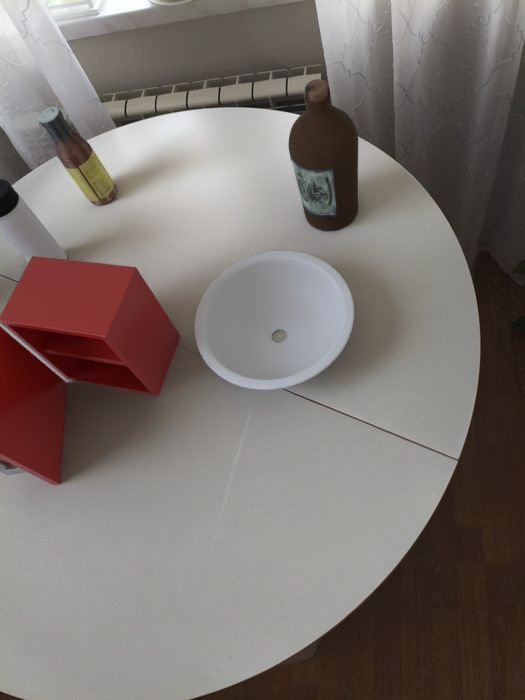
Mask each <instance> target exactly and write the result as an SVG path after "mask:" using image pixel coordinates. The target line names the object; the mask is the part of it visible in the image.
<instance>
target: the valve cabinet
mask: <svg viewBox="0 0 525 700" xmlns="http://www.w3.org/2000/svg"><path fill="white" fill-rule="evenodd" d="M0 324H1V325H2V326H3V327H5V328H6V329H7V331H9V332H11V334H13V335H14V336H15V337H17V339H18V340H20V341H21V342H22V343H23V344H25V345H26V346H27V347H28V348H29V349H30V350H32V352H34V353H35V354H36V355H37V356H39V357H40V358H41V359H42V360H43V361H44V362H46V364H48V365H49V366H50V367H51V368H52V369H54V370H55V371H56V372H57V373H58V374H60V375H61V376H62V377H63V378H64V379H65V380H67V381H72V382H79V383H84V384H88V385H93V386H100V387H105V388H110V389H117V390H121V391H126V392H127V391H128V392H133V393H138V394H145V395H149V396H155V397H159V396H160V394H161V391H162V388H163V386H164V383H165V380H166V378H167V374H168V372H169V369H170V366H171V365H172V361H173V358H174V356H175V353H176V350H177V348H178V345H179V342H180V339H181V337H182V335H181V333H180V332H179V331H178V329H177V328H176V326H175V324H173V321H172V320H171V319H170V317H169V315H168V313H167V312H166V311H165V309H164V307H163V306H162V305H161V303H160V302H159V300H158V299H157V297H156V295H155V294H154V292H153V291H152V289H151V288H150V286H149V285H148V283H147V281H146V280H145V278H144V276H143V275H142V273H141V272H140V271H139V269H138V268H137V266H130V265H122V264H113V263H102V262H92V261H85V260H76V259H69V260H67V259H57V258H48V257H39V256H32V257H31V259H30V261H29V263H28V262H27V264H26V266H25V268H24V270H23V272H22V274H21V276H20V278H19V280H18V282H17V283H16V285H15V287H14V289H13V290H12V292H11V295H10V296H9V298H8V299H7V302H6V304H5V306H4V307H3V310H2V311H1V313H0Z"/></svg>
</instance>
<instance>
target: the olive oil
mask: <svg viewBox="0 0 525 700" xmlns="http://www.w3.org/2000/svg"><path fill="white" fill-rule="evenodd" d="M304 94H305V95H304V100H305V104H306V109H305V110H304V111H303V112H302V113H301V114H300V115H299V116H298V117H297V118H296V120H295V121H294V123H293V124H292V126H291V128H290V131H289V135H288V136H289V137H288V142H287V143H288V145H287V146H288V153H289V159H290V162H291V165H292V168H293V170H294V171H293V172H294V175H295V178H296V184H297V189H298V191H299V195H300V199H301V203H302V208H303V213H304V217H305V220H306V221H307V223H308V224H309V225H310V226H311V227H312V228H314V229H316V230H319V231H323V232H335V231H339V230H342V229H344V228H346V227H348V226H349V225H351V224H352V223H353V221H355V219H356V218H357V216H358V213H359V134H358V130H357V127H356V125H355V122H354V120H353V119H352V118H351V116H350V115H349V114H348V113H346V112H345V111H344V110H342V109H340V108H339V107H337V106H334V105H332V104H331V97H330V91H329V85H328V82H327V81H326V80H325V79H322V78H315V79H312V80H310V81H308V82H307V83H306V84H305V85H304Z"/></svg>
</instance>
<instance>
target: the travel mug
mask: <svg viewBox="0 0 525 700" xmlns="http://www.w3.org/2000/svg"><path fill="white" fill-rule="evenodd" d="M0 233H1V235H2V236H3V237H4V238H5V239H7V241H8V242H9V243H10V244H11V245H12V247H14V248H15V250H16V251H17V252H18V253H19V254H20V256H22V257H23V259H24V260H25V261H26V262H27V264H28V263H29V261H30V259H31V257H32V256H39V257H48V258H57V259H67V260H70V257H69V256H68V254H67V252H66V251H65V250H64V249H63V247H61V245H60V244H59V243H58V242H57V240H56V239H55V237H53V235H52V234H51V232H50V231H49V230H48V229H47V228H46V226H45V225H44V224H43V223H42V221H40V219H39V218H38V216H37V215H36V214H35V213H34V212H33V210H32V209H31V208H30V207H29V205H28V204H27V203H26V202H25V200H24V199H23V198H22V196H21V195H20V194H19V193H18V191H16V189H15V188H14V187H13V186H12V185H11V184H10V182H9V181H8V180H6V179H4V178H3V179H2V178H0Z"/></svg>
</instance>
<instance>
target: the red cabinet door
mask: <svg viewBox="0 0 525 700" xmlns="http://www.w3.org/2000/svg"><path fill="white" fill-rule="evenodd" d="M67 393H68V382H67V381H66V380H64V379H63V378H62V377H61V376H60V375H59V374H57V373H56V372H55V371H54V370H52V368H51V367H49V366H48V365H46V364H45V363H44V362H43V361H42V360H41V359H39V358H38V357H37V355H35V354H34V353H33V352H31V350H29V349H28V348H26V347H25V346H24V345H23V344H22V343H21V342H19V341H18V340H17V339H16V338H14V337H13V336H12V335H11V334H10V333H8V332H7V331H6V329H4V328H3V327H1V326H0V473H1V474H4V475H6V476H13V475H18V474H24V473H28V474H30V475H32V476H34V477H37V478H38V479H40V480H42V481H45V482H46V483H48V484H50V485H52V486H58V485H59V486H60V485H61V475H62V462H63V461H62V460H63V448H64V446H63V445H64V435H65V434H64V433H65V422H66V421H65V419H66V405H67Z"/></svg>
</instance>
